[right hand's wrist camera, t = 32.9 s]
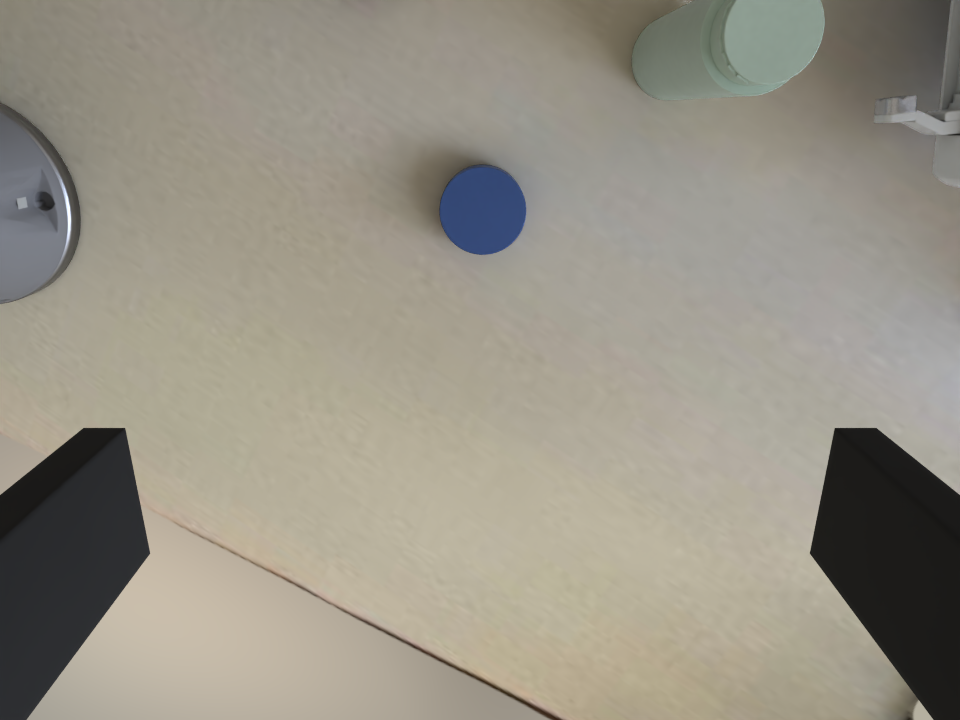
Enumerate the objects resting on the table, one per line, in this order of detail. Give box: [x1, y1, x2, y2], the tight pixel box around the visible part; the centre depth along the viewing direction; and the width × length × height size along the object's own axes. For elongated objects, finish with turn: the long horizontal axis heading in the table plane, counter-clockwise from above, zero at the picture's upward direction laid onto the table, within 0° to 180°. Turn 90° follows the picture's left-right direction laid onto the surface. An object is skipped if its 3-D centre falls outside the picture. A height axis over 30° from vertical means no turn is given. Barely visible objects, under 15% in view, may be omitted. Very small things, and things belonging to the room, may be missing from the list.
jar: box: [632, 0, 825, 100], centre depth 39 cm, size 6×6×18 cm
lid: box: [440, 165, 526, 255], centre depth 50 cm, size 6×6×2 cm
